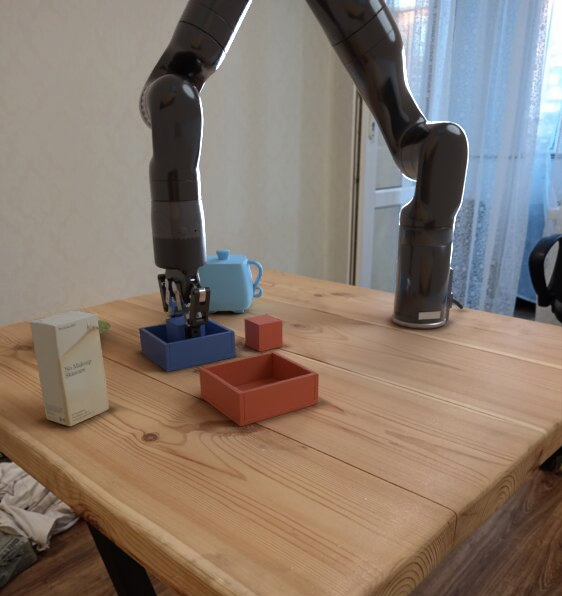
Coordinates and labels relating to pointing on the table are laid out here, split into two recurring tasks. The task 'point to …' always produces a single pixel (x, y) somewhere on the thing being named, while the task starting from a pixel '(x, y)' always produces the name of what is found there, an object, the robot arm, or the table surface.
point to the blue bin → (187, 346)
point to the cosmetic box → (70, 366)
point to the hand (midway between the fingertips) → (186, 345)
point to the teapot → (230, 281)
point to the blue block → (178, 329)
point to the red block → (263, 332)
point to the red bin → (258, 387)
